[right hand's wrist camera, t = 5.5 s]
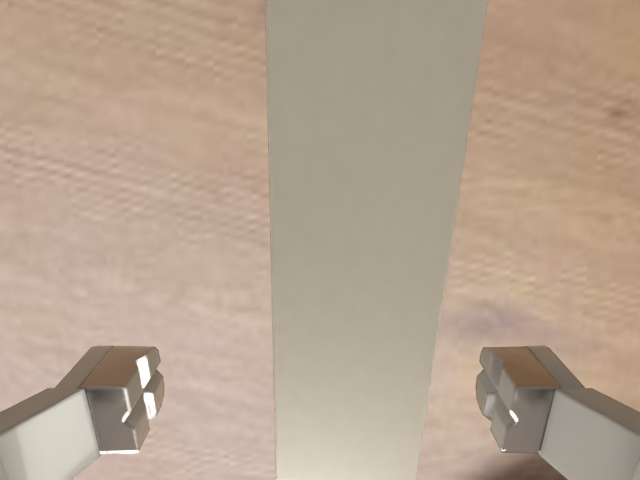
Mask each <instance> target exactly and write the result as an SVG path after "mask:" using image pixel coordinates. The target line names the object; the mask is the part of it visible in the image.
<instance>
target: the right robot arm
mask: <svg viewBox="0 0 640 480" xmlns="http://www.w3.org/2000/svg"><path fill="white" fill-rule="evenodd" d="M159 363H160V356H159V351H158V349H157V348H156V347H145V346H95V347H91V348H90V349H89V350H88V352H87V353H86V354H85V355H84V356H83V357H82V358H81V359H80V360H79V362H78V363H77V364H76V365H75V366H74V367H73V368H72V369H71V370H70V372H69V373H68V374H67V375H66V376H65V377H64V378H63V379H62V380H61V382H60V383H59V384H58V385H57V386H56V387H55V388H48V389H46V390H44V391H42V392H40V393H38V394H36V395H34V396H32V397H30V398H28V399H26V400H24V401H22V402H20V403H18V404H16V405H14V406H12V407H10V408H8V409H6V410H4V411H2V412H0V480H72V479H74V478H75V477H76V476H77V475H78V474H79V473H81V472H82V471H83V470H84V469H85V468H87V467H88V466H89V465H90V464H91V463H93V462H94V461H95V460H96V459H97V458H98V457H100V454H109V453H138V452H139V450H140V448H141V446H142V444H143V442H144V440H145V438H146V436H147V434H148V432H149V430H150V428H149V422H148V421H150V420H151V419H152V418H154V417H155V416H157V414H158V412H159V410H160V408H161V405H162V401H163V397H164V379H163V376H162V375H161V374H160V373H159V372H158V370H157V369H156V368H157V367H158V365H159ZM480 363H481V365H482V367H483V368H484V370H483V371H482V372H481V373H480V374H479V375H478V376H477V380H476V397H477V402H478V405H479V408H480V410H481V412H482V414H483V416H485V417H486V418H488V419H489V420H490V421H492V423H491V428H490V430H491V432H492V434H493V436H494V438H495V440H496V442H497V444H498V446H499V448H500V450H501V452H502V453H531V454H540V455H539V456H541V457H542V458H543V459H544V460H545V461H547V462H548V463H549V464H550V465H551V466H552V467H554V468H555V469H556V470H557V471H558V472H560V473H561V474H562V475H563V476H564V477H565V478H567V479H568V480H640V412H638V411H636V410H634V409H632V408H630V407H628V406H626V405H624V404H622V403H620V402H618V401H616V400H614V399H612V398H610V397H608V396H606V395H604V394H602V393H600V392H598V391H596V390H594V389H592V388H585V387H584V386H583V385H582V384H581V383H580V382H579V380H578V379H577V378H576V377H575V376H574V375H573V374H572V373H571V372H570V370H569V369H568V368H567V367H566V366H565V365H564V364H563V363H562V361H561V360H560V359H559V358H558V357H557V356H556V355H555V354H554V353H553V351H552V350H551V349H550V348H548V347H546V346H524V347H483V349H482V351H481V355H480Z"/></svg>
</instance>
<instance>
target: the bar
mask: <svg viewBox="0 0 640 480" xmlns="http://www.w3.org/2000/svg"><path fill="white" fill-rule="evenodd" d="M487 5H488V0H265V18H266V63H267V108H268V153H269V197H270V242H271V287H272V332H273V377H274V421H275V466H276V479H277V480H416V479H417V473H418V466H419V459H420V453H421V446H422V439H423V433H424V426H425V419H426V412H427V406H428V399H429V392H430V386H431V379H432V372H433V366H434V359H435V352H436V346H437V339H438V332H439V326H440V319H441V312H442V306H443V299H444V292H445V286H446V279H447V272H448V266H449V259H450V252H451V246H452V239H453V232H454V226H455V219H456V212H457V205H458V199H459V192H460V185H461V179H462V172H463V165H464V159H465V152H466V145H467V139H468V132H469V125H470V119H471V112H472V105H473V99H474V92H475V85H476V79H477V72H478V65H479V59H480V52H481V45H482V39H483V32H484V25H485V19H486V12H487Z"/></svg>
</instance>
